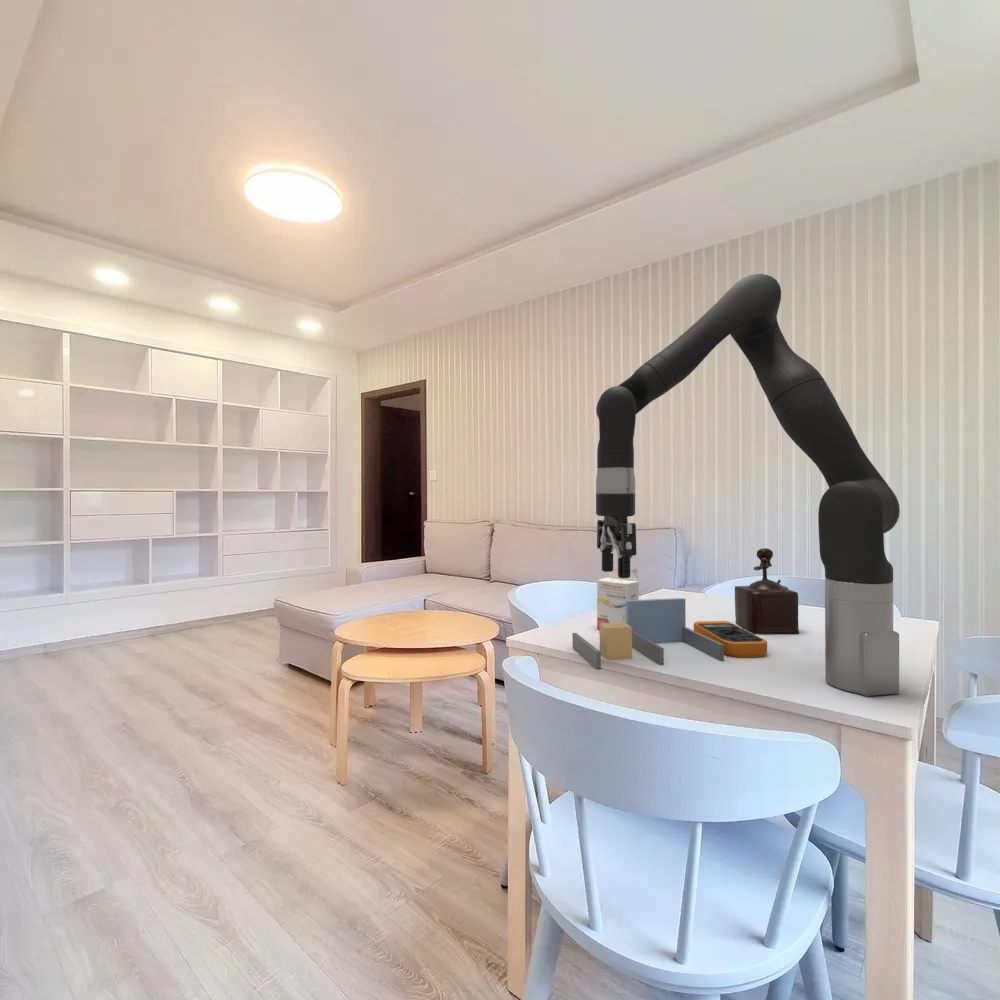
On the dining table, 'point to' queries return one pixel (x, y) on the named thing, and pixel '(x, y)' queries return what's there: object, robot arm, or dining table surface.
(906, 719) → the dining table surface
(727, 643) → the multimeter
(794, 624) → the manual coffee grinder
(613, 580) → the ink cartridge box
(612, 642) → the tan wooden cube
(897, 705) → the dining table surface
